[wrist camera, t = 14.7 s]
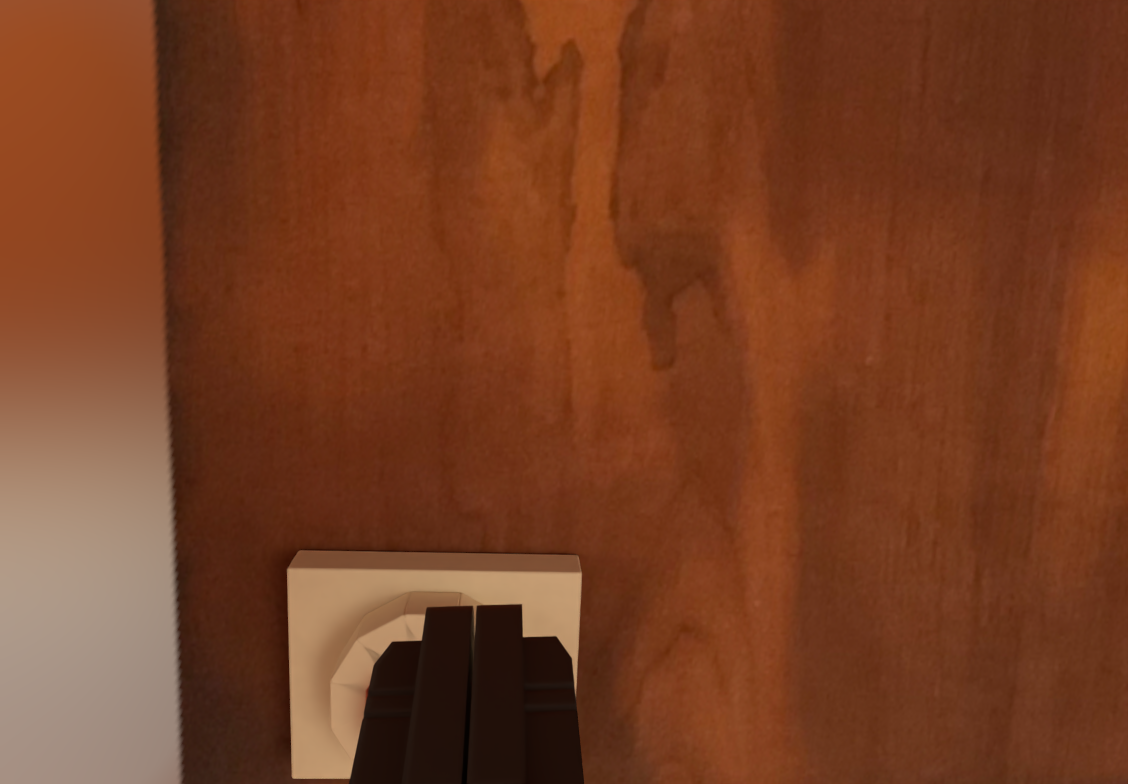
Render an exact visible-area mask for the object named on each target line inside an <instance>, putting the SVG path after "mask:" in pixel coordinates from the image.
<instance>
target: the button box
mask: <svg viewBox="0 0 1128 784" xmlns="http://www.w3.org/2000/svg"><path fill="white" fill-rule="evenodd" d="M581 584H582V572H581V567H580V561H579V557H578V555H549V554H490V553H431V552H372V551H313V550H300V551H298V552H297V554H296V556H295V557H294V559H293V560H292V562H291V564H290V565H289V567H288V569H287V593H288V634H289V676H290V718H291V760H292V777H293V778H294V779H350V777H351V772H352V767H353V762H354V757H355V753H356V748H357V743H358V738H359V733H360V728H361V724H362V719H363V718H364V709H365V704H366V700H367V697H368V690H369V685H370V680H371V675H372V671H373V666H374V664H375V663H376V661H377V660H378V659H379V658H380V656H381V655H382V654H383V653H384V651H385V650H386V649H387V647H388V646H389V645H390V644H391V642H393V641H422V635H423V628H424V620H425V613H426V608H427V607H445V606H473V608H474V625H475V624H476V608H477V605H506V604H522V618H523V637H543V636H557V638H558V639H559V641H560V642H561V643H562V645H563V646H564V648H565V649H566V650H567V652H568V653H569V655H570V656H571V658H572V664H573V674H574V687H575V695H576V687H577V667H578V646H579V625H580V605H581Z"/></svg>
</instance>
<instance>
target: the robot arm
mask: <svg viewBox="0 0 1128 784" xmlns="http://www.w3.org/2000/svg"><path fill="white" fill-rule="evenodd" d="M349 784H584V778H583V768H582V757H581V747H580V736H579V726H578V716H577V707H576V695H575V687H574V674H573V664H572V658H571V656H570V655H569V653H568V652H567V650H566V649H565V648H564V646H563V645H562V643H561V642H560V641H559V639H558V638H557V636H543V637H523V618H522V604H506V605H477V608H476V624H475V625H474V608H473V606H445V607H427V608H426V613H425V620H424V628H423V635H422V641H393V642H391V644H390V645H389V646H388V647H387V649H386V650H385V651H384V653H383V654H382V655H381V656H380V658H379V659H378V660H377V661H376V663H375V664H374V666H373V671H372V675H371V680H370V685H369V690H368V697H367V700H366V704H365V709H364V718H363V719H362V724H361V728H360V733H359V738H358V743H357V748H356V753H355V757H354V762H353V767H352V772H351V777H350V781H349Z"/></svg>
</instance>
